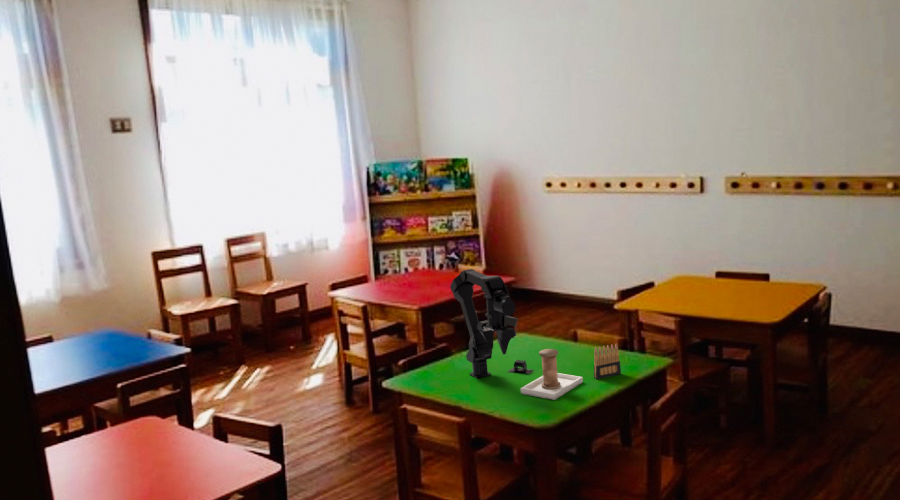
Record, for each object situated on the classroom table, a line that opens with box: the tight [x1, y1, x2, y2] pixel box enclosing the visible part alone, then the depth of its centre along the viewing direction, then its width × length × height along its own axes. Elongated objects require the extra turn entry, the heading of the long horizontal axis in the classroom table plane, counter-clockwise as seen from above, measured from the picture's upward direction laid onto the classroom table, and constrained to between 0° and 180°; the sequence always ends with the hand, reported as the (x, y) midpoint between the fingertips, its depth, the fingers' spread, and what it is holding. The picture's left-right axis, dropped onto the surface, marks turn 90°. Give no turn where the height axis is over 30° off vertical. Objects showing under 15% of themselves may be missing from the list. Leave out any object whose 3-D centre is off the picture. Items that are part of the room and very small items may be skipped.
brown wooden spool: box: [538, 348, 561, 390], centre depth 260 cm, size 7×7×13 cm
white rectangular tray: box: [520, 372, 584, 401], centre depth 261 cm, size 20×14×2 cm
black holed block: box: [507, 359, 535, 375], centre depth 282 cm, size 12×7×5 cm, turn 59°
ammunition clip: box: [593, 342, 622, 380], centre depth 267 cm, size 11×2×12 cm, turn 111°
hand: (497, 351), depth 266 cm, fingers open, 9 cm apart
